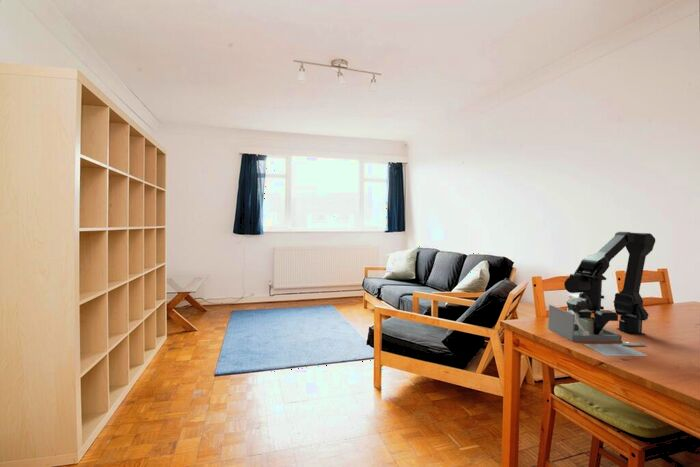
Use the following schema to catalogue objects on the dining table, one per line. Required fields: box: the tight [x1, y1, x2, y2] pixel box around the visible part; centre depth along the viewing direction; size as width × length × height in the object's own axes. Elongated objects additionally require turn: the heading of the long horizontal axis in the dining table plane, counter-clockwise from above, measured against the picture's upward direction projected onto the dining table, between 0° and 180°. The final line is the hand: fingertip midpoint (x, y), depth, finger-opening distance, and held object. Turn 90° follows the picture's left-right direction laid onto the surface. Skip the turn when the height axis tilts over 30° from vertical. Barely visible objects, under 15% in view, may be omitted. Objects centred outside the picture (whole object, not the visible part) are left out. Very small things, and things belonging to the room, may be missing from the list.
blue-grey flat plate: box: [583, 343, 648, 357], centre depth 114 cm, size 14×10×1 cm
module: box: [578, 318, 603, 335], centre depth 128 cm, size 6×4×6 cm
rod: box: [620, 341, 647, 347], centre depth 118 cm, size 8×1×1 cm, turn 91°
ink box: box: [566, 293, 580, 324], centre depth 145 cm, size 9×5×12 cm, turn 168°
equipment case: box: [547, 304, 622, 343], centre depth 129 cm, size 18×14×10 cm
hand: (590, 332), depth 128 cm, fingers open, 6 cm apart
